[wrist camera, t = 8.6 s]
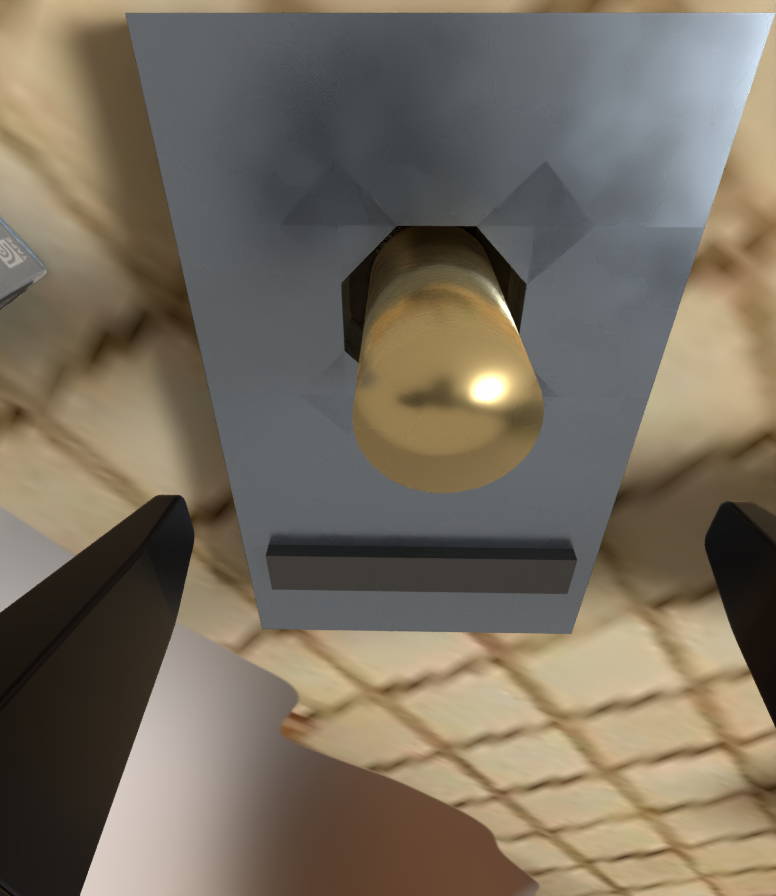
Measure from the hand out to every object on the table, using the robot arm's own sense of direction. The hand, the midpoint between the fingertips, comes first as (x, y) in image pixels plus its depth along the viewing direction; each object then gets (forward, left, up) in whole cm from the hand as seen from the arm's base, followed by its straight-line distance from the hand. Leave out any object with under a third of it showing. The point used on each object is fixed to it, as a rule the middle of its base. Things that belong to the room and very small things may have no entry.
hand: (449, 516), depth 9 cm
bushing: (0, 0, -11) cm, 11 cm away
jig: (0, +4, -11) cm, 12 cm away
